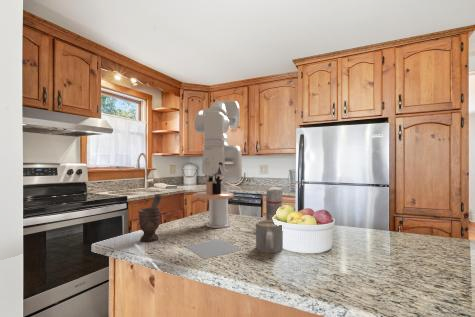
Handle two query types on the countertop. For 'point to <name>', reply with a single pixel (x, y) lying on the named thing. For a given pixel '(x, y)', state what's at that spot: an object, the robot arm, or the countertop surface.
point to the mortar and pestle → (150, 220)
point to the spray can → (273, 201)
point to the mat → (212, 248)
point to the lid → (210, 195)
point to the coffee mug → (269, 237)
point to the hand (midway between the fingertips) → (213, 192)
